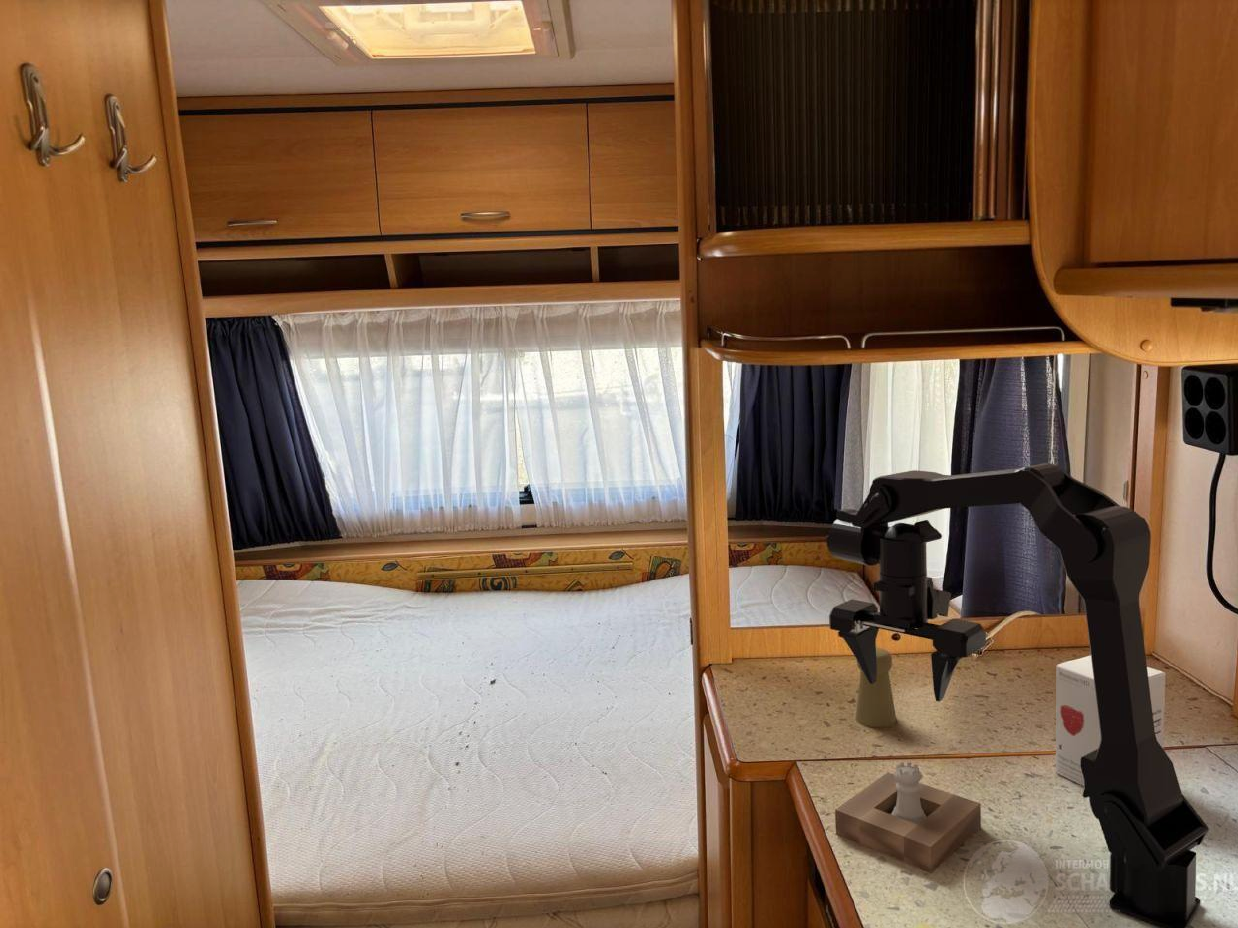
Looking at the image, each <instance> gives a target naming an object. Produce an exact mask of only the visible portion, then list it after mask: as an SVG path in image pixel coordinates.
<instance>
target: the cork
mask: <svg viewBox="0 0 1238 928" xmlns="http://www.w3.org/2000/svg"><path fill="white" fill-rule="evenodd" d="M876 661H877V677H876V682H875V683H874V684H870V683H869V682H868V680H867V678H866V676H865V674H864V672H863V670H862V668H861V666H860V665H859V663H858V661H857V660H856V665H857V668H858V669H859V671H860V674H859V681H858V682H859V683H858V692H857V702H856V709H855V711H856V712H855V721H856V722H858V723H859V724H861V725H863V726H866V727H870V728H887V727H891V726H893V725H895V724H896V722H897V715H896V710H895V704H894V702H895V701H894V697H893V691H892V690H893V689H892V685H891V679H890V673H889V672H890V671H891V669H892V665H893V657H892V655H891V653H890V652H889V651H888V650H886V649H885V648H882V647H877V646H876Z"/></svg>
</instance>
